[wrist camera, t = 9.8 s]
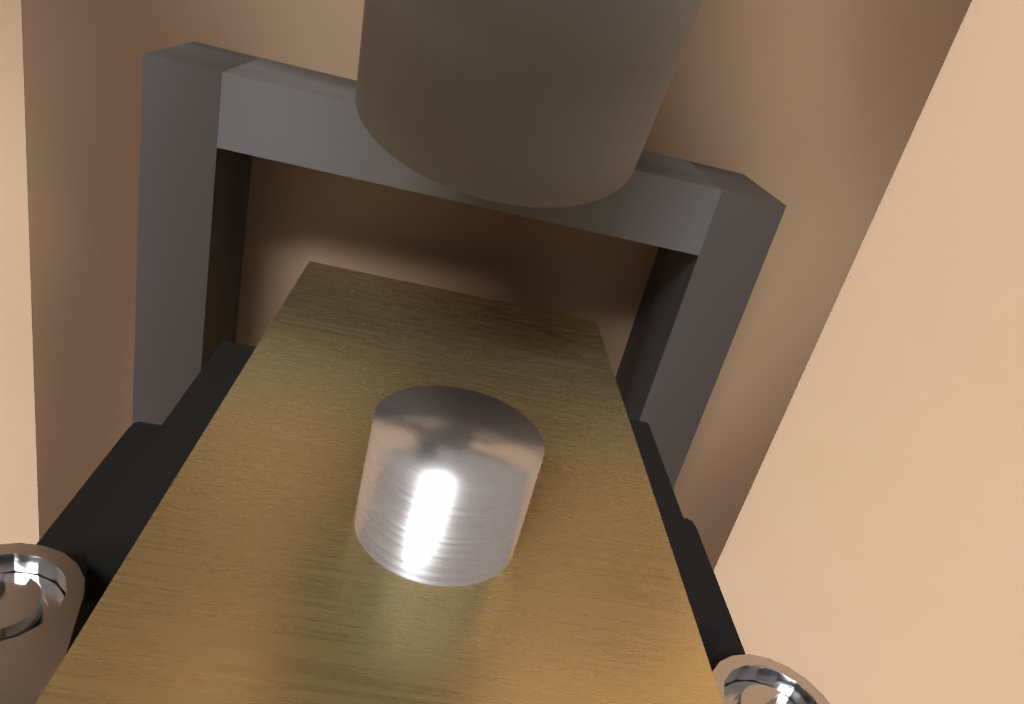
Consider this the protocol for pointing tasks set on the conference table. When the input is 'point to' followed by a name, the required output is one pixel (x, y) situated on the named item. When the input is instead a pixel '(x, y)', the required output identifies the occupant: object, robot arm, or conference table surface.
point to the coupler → (402, 524)
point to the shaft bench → (462, 190)
